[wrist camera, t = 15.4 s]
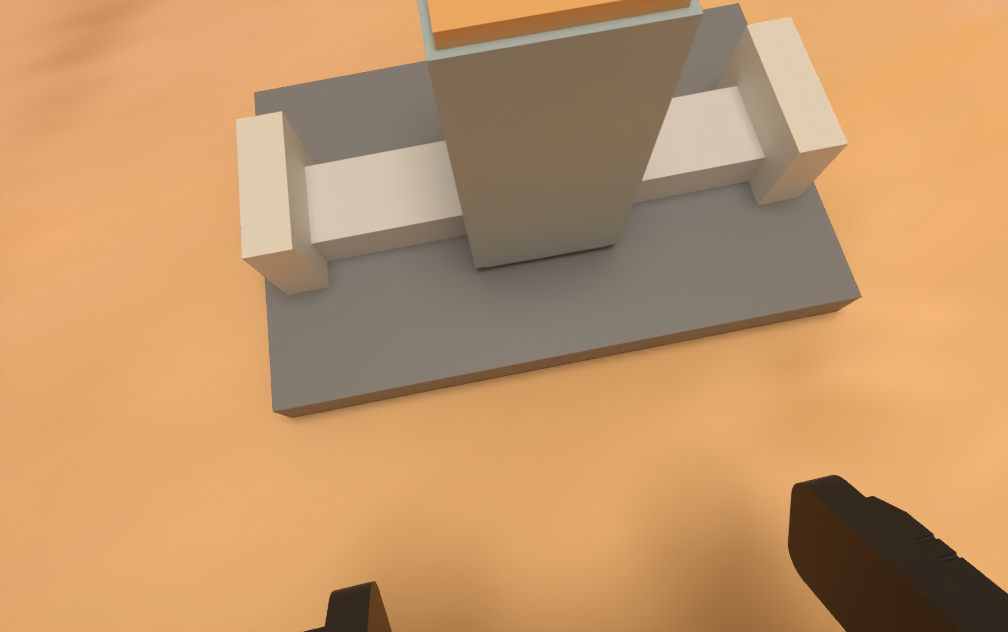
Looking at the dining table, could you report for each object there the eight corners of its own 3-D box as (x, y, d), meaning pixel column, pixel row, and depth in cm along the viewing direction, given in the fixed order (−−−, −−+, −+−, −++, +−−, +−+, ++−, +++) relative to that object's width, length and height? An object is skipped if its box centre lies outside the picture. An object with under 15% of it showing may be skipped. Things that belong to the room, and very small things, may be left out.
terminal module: (476, 274, 19) (422, 43, 9) (452, 131, 21) (385, -188, 11) (616, 249, 19) (710, -6, 9) (580, 109, 21) (625, -228, 11)
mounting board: (291, 417, 19) (220, 395, 15) (271, 116, 23) (210, 28, 19) (837, 310, 20) (928, 258, 15) (726, 32, 24) (771, -74, 19)
